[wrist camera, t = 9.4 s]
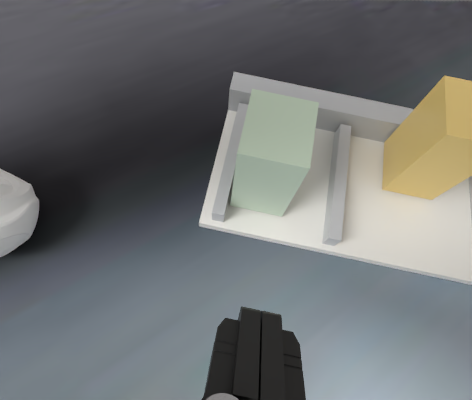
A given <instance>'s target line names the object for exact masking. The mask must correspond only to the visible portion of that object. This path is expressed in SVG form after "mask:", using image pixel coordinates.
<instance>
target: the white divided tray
mask: <svg viewBox="0 0 472 400" xmlns="http://www.w3.org/2000/svg"><path fill="white" fill-rule="evenodd" d="M252 89H256V90H261V91H266V92H271V93H276V94H280V95H285V96H290V97H295V98H300V99H304V100H309V101H314V102H319V106H318V114H317V121H316V128H315V136H314V143H313V151H312V158H311V165H310V170H309V171H308V173H307V175H306V176H305V178H304V180H303V182H302V183H301V185H300V187H299V188H298V190H297V192H296V193H295V195H294V197H293V199H292V200H291V202H290V204H289V205H288V207H287V209H286V210H285V212H284V214H283V215H282V217H281V216H276V215H272V214H267V213H262V212H258V211H253V210H248V209H244V208H239V207H234V206H230V203H231V195H232V188H233V180H234V173H235V165H236V157H237V151H238V147H239V143H240V138H241V134H242V130H243V126H244V121H245V117H246V113H247V108H248V104H249V100H250V95H251V91H252ZM413 110H414V109H411V108H406V107H401V106H396V105H392V104H387V103H382V102H377V101H372V100H367V99H363V98H358V97H353V96H348V95H343V94H338V93H334V92H329V91H324V90H319V89H314V88H310V87H305V86H300V85H295V84H290V83H285V82H281V81H276V80H271V79H266V78H261V77H256V76H252V75H247V74H242V73H237V72H234V74H233V78H232V82H231V86H230V90H229V106H228V113H227V116H226V120H225V124H224V128H223V132H222V136H221V140H220V143H219V147H218V151H217V155H216V159H215V163H214V167H213V170H212V174H211V178H210V182H209V186H208V190H207V194H206V198H205V201H204V205H203V209H202V213H201V217H200V221H199V226H200V227H204V228H209V229H214V230H218V231H223V232H228V233H232V234H237V235H241V236H246V237H251V238H255V239H260V240H265V241H269V242H274V243H279V244H283V245H288V246H292V247H297V248H302V249H306V250H311V251H316V252H320V253H325V254H330V255H334V256H339V257H343V258H348V259H353V260H357V261H362V262H367V263H371V264H376V265H381V266H385V267H390V268H394V269H399V270H404V271H408V272H413V273H418V274H422V275H427V276H432V277H436V278H441V279H445V280H450V281H455V282H459V283H464V284H469V285H472V176H470V177H469V178H467V179H465V180H464V181H462V182H461V183H459V184H457V185H456V186H454V187H452V188H451V189H449V190H447V191H446V192H444V193H442V194H441V195H439V196H438V197H436V198H434V199H433V200H429V199H424V198H419V197H415V196H410V195H405V194H400V193H396V192H391V191H386V190H382V180H383V157H384V142H385V141H386V140H387V139H388V138H389V137H390V136H391V134H392V133H393V132H394V131H395V130H396V129H397V128H398V127H399V126H400V124H401V123H402V122H403V121H404V120H405V119H406V118H407V117H408V116H409V114H410V113H411V112H412V111H413Z"/></svg>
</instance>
